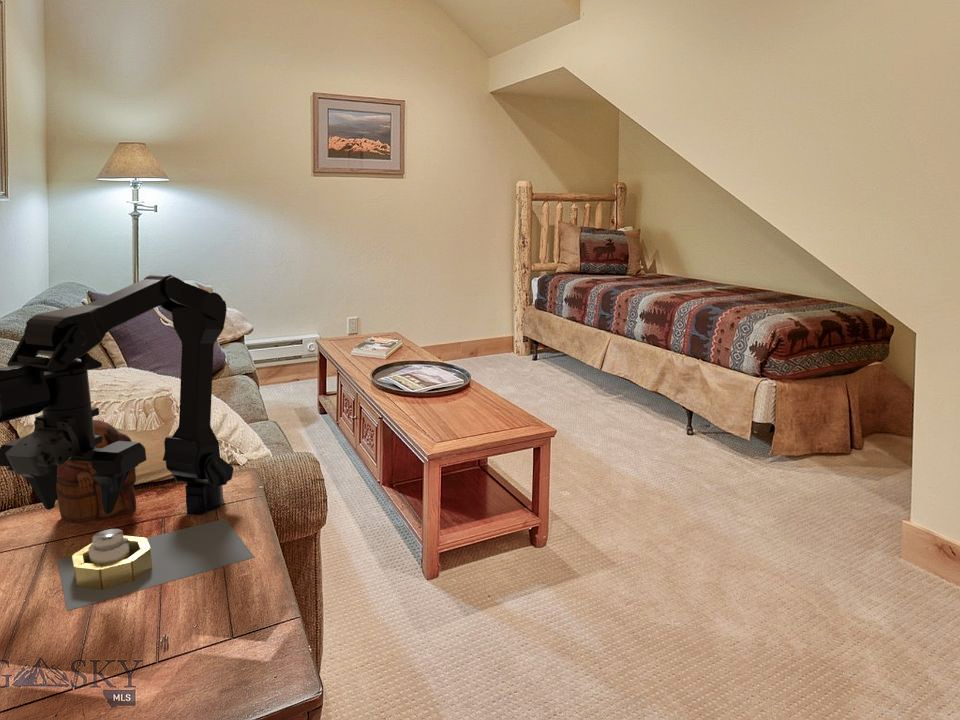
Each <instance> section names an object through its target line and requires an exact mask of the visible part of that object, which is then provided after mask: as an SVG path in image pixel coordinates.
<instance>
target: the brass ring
mask: <svg viewBox="0 0 960 720" xmlns="http://www.w3.org/2000/svg"><path fill="white" fill-rule="evenodd" d="M123 537H125V538H127V539H128V540H129V548H130V557H129V558H127V559H125V560H121V561H117V562H113V563H109V564H105V565H98V564H90V558H89V550H88V548H89V546H90V545H91V544H93V542H91V543H89V544H88V545H87V546H85V547H83V548H82V549H80V550H78V551H76V552H75V553H73V554H72V555H71V556H72V559H73V567H74V575H75V581H76V587H80V588H89V589H98V590H101V589H103V590H104V589H107V588H111V587H115V586H118V585H122V584H126V583H130V582H133V581H135V580H136V579H138V578H139V577H140V576H142V575H143V574H144V573H146V572H147V571H148V570H149V569H151V568H152V559H151V549H150V546H149V543H148V541H147V539H146V538H147V537H141V536H140V537H139V536H132V535H123Z"/></svg>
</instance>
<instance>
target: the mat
mask: <svg viewBox="0 0 960 720" xmlns="http://www.w3.org/2000/svg"><path fill="white" fill-rule="evenodd" d="M145 538H146V539H147V541H148V543H149V546H150V549H151V559H152V568H151V569H149V570H148V571H147V572H146V573H144V574H143V575H142V576H140V577H139V578H138V579H136V580H135V581H133V582H130V583H126V584H122V585H118V586H115V587H111V588H107V589H104V590H103V589H101V590H98V589H89V588H80V587H76V581H75V575H74V567H73V559H72V556H73V555H70V556H67V557H63V558H59V559H57V560H56V561H57V566H58V570H59V576H60V582H61V588H62V593H63V598H64V603H65V608H66V612H68V611H72V610H77V609H80V608H82V607H86V606H87V607H88V606H89V605H93V604H97V603H100V602H104V601H107V600H111V599H113V598H118V597H121V596H125V595H129V594H131V593H135V592H139V591H144V590H146V589H149V588H152V587H156V586H159V585H162V584H163V585H164V584H166V583H170V582H173V581H174V582H175V581H177V580H181V579H185V578H188V577H191V576H195V575H198V574H202V573H205V572H208V571H212V570H216V569H219V568H222V567H223V568H224V567H226V566H230V565H234V564H237V563H241V562H244V561H246V560H249V559H250V560H251V559H254V558H256V556H255V555H254V554H253V552H251V549H249V548H248V546H247V545H246V544H245V543H244V541H243V540H242V539H241V537H240V536H239V534H238V533H237V532H236V531H235V530H234V528H233V527H232V525H230V523H229V522H228V521H227V520H226V518H223V519H219V520H215V521H212V522H211V521H210V522H206V523H203V524H198V525H194V526H191V527H187V528H182V529H178V530H173V531H169V532H166V533H162V534H161V533H160V534H157V535H152V536H150V537H145Z"/></svg>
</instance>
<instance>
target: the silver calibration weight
mask: <svg viewBox="0 0 960 720" xmlns="http://www.w3.org/2000/svg"><path fill="white" fill-rule="evenodd" d="M123 536H124V532H123V530H122V529H119V528H109V529H104V530H101V531H98V532H96V533H95V534H93V536H92V537H91V539H92V543H93V544H91V543H90V544H91V545H90V546H89V548H88V550H89V558H90V564H98V565H105V564H109V563H113V562H117V561H121V560H125V559H127V558H129V557H130V548H129V540H128V539H127V538H125V537H123Z"/></svg>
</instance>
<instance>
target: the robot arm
mask: <svg viewBox="0 0 960 720" xmlns="http://www.w3.org/2000/svg"><path fill="white" fill-rule="evenodd" d="M158 307H160V309H162V310H164V311H167V312H168V313H170V314H171V316H172V326H173V328H174V329H173V330H174V331H175V332H176V334H177V336H178V338H179V340H180V342H181V362H180V365H181V366H180V385H179V386H180V387H179V389H180V390H179V391H180V392H179V414H178V415H179V419H178V426H177V429H176V430H175V432H174V433H173V435H172V436H165V438H164V441H163V443H164V455H163V457H162V461H165V466H166V470H168V471H169V473H171V475H172V477H173V479H174V481H175V482H178V483H180V482H181V483H185V506H186V507H185V508H186V514H187V515H193V516H194V515H195V516H197V515H198V516H202V515H203V514H207V513H208V512H212V511H215V510H217V509H220V507H222V506H223V504H224V491H223V486H226V485H227V484H228V482H229V481H232V478H233V473H234V467H233V466H232V465H231V464H229V463H228V462H227V461H226V460H224V459H223V458H222V457H221V453H220V451H221V450H220V442H219V440H218V438H217V436H216V434H215V432H214V431H213V428H212V427H211V418H212V417H211V415H212V394H213V393H212V391H213V369H214V368H213V367H214V366H213V365H214V364H213V363H214V345H215V343H216V341H217V339H218V338H219V336H220V335H221V334H222V332H223V330H224V329H225V328H224V327H225V322H226V317H227V303H226V300H224V299H223V297H222V296H221V295H220V294H218V293H217V292H213V291H207V290H205V289H203V288H199V287H198V286H195V285H192V284H190V283H187V282H185V281H183V280H181V279H180V278H178V277H175V276H174V275H171V274H156V273H155V274H149V275H147V276H145V277H144V278H143V279H142V280H140V281H137V282H135V283H132V284H130V285H128V286H126V287H124V288H121V289H120V290H119V289H118V290H117V291H115V292H112V293H109V294H108V295H105V296H103V297H101V298H98V299H96V300H94V301H91V302H90V303H86V304H84V305H80V306H74V307H68V308H67V307H65V308H59V309H54V310H52V311H47V312H46V311H45V312H42V313H37V314H35V315H33V316H32V317H29V319H28V320H27V321H26V322H25V323H26V324H25V325H26V326H25V328H24V330H23V331H24V334H23V336H22V337H21V338H20V341H19V343H17V346H16V347H15V349H14V351H13V353H12V354H11V356H10V358H9V359H8V361H7V366H4V367H1V368H0V424H2V423H6V422H10V421H13V420H18V419H22V418H25V417H29V416H33V415H37V414H39V413H41V412H42V414H40V415H37V416H35V420H34V422H33V425H34V428H33V429H34V430H33V431H32V432H31V433H29V434H27V435H25V436H22V437H20V438H17V439H14V440H11V441H9V442H6V443H3V444H2V445H1V446H0V467H6V468H7V470H8V471H9V472H12V473H15V474H16V475H17V476H18V475H21V476H22V477H24V478H25V479H26V480H27V481H28V483H29V484H30V485H31V487H32V489H33V490H34V492H35V493H36V495H37V497H38V499H39V500H40V502H41V503H42V505H43V507H44V508H45V510H48V511H50V510H52V509H53V508H55V507H56V500H57V490H56V487H57V477H58V476H57V465H63V464H64V463H65V462H66V461H67V460H75V461H89V462H92V468H93V469H94V470H95V471H96V472H97V473H95V474H93V475H92V477H93V478H95V479H96V480H97V481H98V482H99V483H100V490H101V498H102V505H103V509H104V513H105V514H106V515H108V514H110V513H112V511H113V509H114V507H115V504H116V502H117V499H118V497H119V494H120V492H121V489H122V487H123V484H124V482H125V480H126V478H127V476H128V474H129V473H130V471H131V469H133V468H135V469H136V467H138V466H139V465H140V464H142V463H144V462H146V461H147V451H146V448H145V446H144V445H143V444H142V443H141V442H139V441H132V442H126V441H117V442H115V443H112V444H110V445H108V446H106V447H104V448H96V446H95V445H97V444H99V443H101V442H102V435H95V434H94V425H93V420H94V417H96V416H100V411H99V407H95V406H94V407H92V400H91V399H92V398H91V390H90V381H89V380H90V379H89V372H88V371H90V370H94V369H99V368H102V366H103V363H102V362H101V361H99V360H98V359H96V358H95V357H93V356H92V355H91V354H90V353H89V352H90V351H92V350H94V348H95V347H97V346H98V345H99V344H101V343H102V341H103V339H104V337H105V335H106V334H107V333H108V332H110V331H111V330H113V329H115V328H117V327H119V326H121V325H123V324H125V323H127V322H129V321H130V320H133V319H135V318H137V317H139V316H141V315H143V314H145V313H147V312H149V311H151V310H153V309H155V308H158ZM43 356H44V357H43ZM46 356H47V357H46Z"/></svg>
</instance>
